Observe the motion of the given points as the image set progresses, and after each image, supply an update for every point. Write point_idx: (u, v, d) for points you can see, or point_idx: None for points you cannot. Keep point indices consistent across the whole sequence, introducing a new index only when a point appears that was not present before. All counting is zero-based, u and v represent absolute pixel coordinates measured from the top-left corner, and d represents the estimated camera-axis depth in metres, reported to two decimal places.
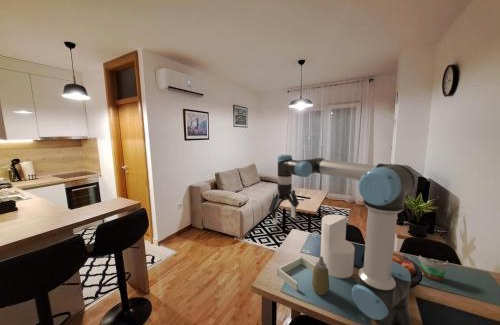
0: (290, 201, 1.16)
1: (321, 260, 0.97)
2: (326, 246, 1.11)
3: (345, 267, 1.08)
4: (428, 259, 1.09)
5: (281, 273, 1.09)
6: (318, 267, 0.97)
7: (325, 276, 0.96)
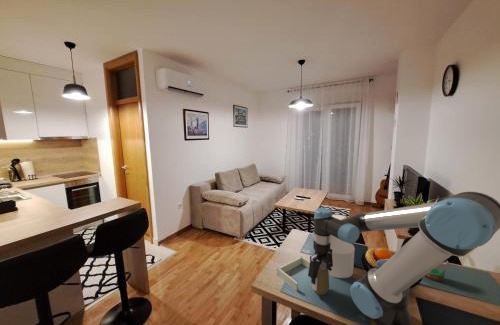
0: (325, 262, 1.00)
1: None
2: None
3: (345, 267, 1.08)
4: None
5: (281, 273, 1.09)
6: None
7: (325, 276, 0.96)
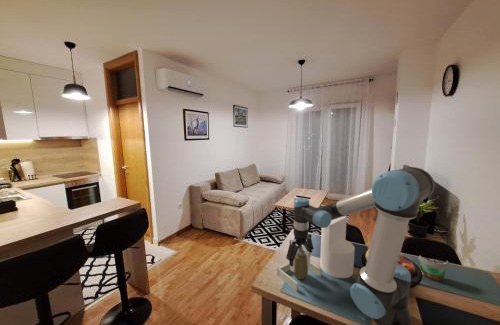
0: (305, 246, 1.11)
1: (300, 247, 1.08)
2: (326, 246, 1.11)
3: (345, 267, 1.08)
4: (428, 259, 1.09)
5: (281, 273, 1.09)
6: (297, 254, 1.08)
7: (303, 262, 1.07)
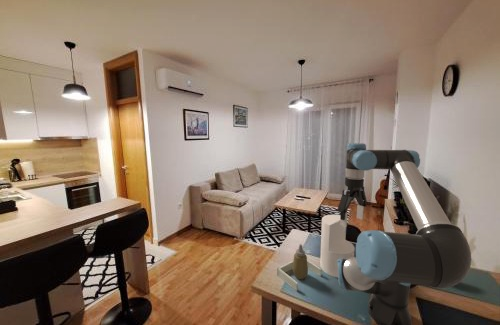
0: (358, 199, 0.97)
1: (300, 247, 1.08)
2: (326, 246, 1.11)
3: None
4: None
5: (281, 273, 1.09)
6: (297, 254, 1.08)
7: (304, 262, 1.07)
